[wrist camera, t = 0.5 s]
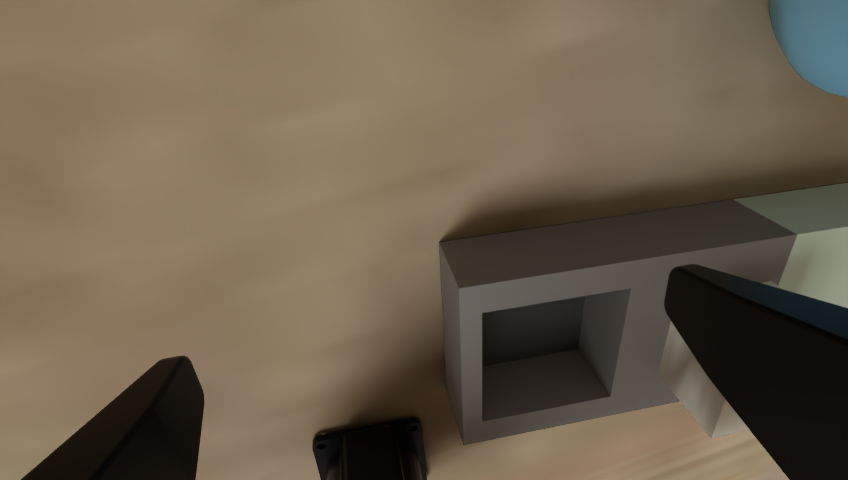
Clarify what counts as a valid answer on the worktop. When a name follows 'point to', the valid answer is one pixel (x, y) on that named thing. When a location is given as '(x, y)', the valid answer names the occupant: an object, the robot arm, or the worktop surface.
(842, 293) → the trap deck
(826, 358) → the robot arm
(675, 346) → the cream block
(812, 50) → the decorative pot
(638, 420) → the worktop surface
